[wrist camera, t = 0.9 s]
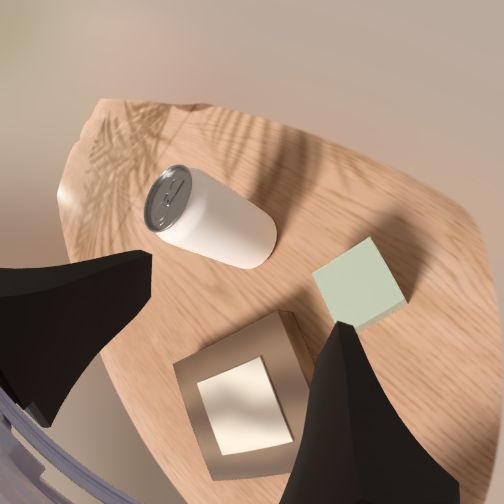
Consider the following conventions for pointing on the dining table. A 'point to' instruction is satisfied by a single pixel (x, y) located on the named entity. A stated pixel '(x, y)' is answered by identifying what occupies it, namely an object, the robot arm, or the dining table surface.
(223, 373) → the base
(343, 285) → the cube
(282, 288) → the dining table surface
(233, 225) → the can
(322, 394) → the robot arm
